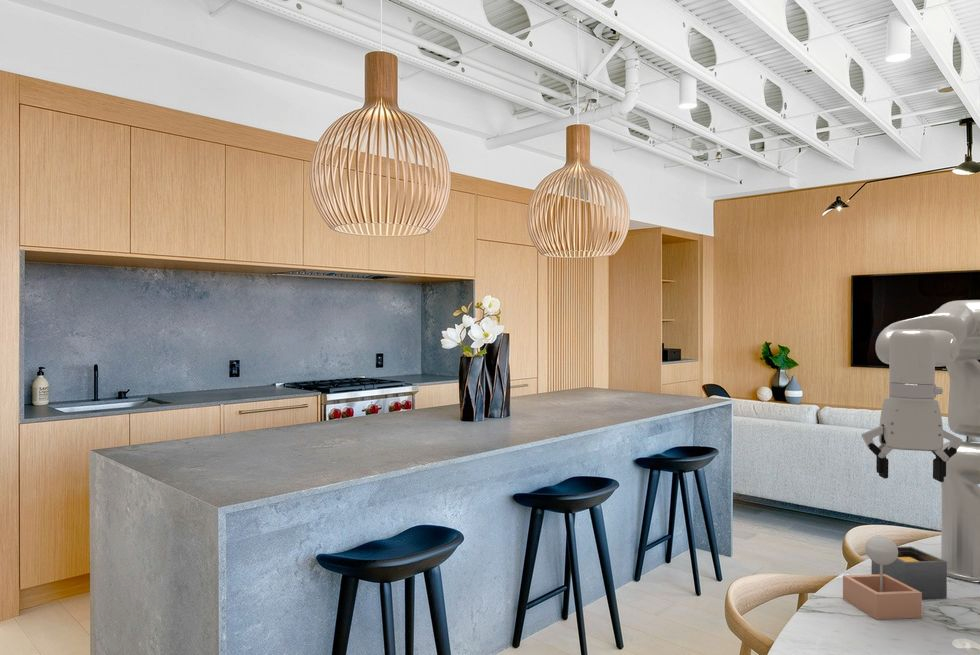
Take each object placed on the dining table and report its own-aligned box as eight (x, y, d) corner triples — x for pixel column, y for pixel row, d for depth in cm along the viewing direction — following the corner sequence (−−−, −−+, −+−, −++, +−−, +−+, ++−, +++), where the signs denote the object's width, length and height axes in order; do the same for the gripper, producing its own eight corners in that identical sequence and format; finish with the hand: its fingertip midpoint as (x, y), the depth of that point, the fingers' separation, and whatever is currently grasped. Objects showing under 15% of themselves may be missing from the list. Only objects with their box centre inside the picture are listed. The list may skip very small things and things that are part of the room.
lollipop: (891, 616, 129) (892, 542, 129) (860, 607, 133) (860, 535, 134) (901, 608, 133) (902, 536, 133) (870, 599, 138) (871, 529, 138)
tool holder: (885, 597, 139) (885, 574, 139) (921, 617, 129) (921, 592, 129) (842, 598, 138) (843, 575, 138) (876, 619, 128) (876, 594, 128)
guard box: (910, 580, 148) (911, 546, 148) (946, 598, 138) (946, 561, 139) (871, 582, 147) (871, 547, 147) (904, 600, 137) (905, 563, 137)
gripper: (952, 392, 128) (951, 477, 128) (857, 389, 132) (856, 472, 132) (971, 395, 121) (970, 486, 120) (869, 392, 125) (868, 480, 125)
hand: (910, 478), depth 126 cm, fingers open, 9 cm apart
